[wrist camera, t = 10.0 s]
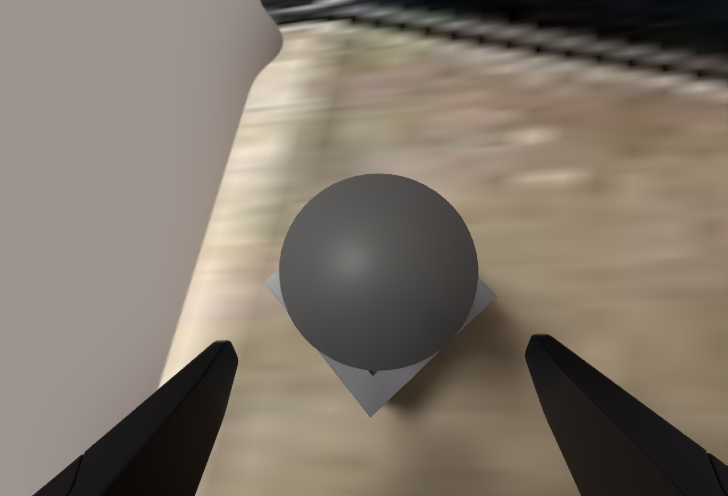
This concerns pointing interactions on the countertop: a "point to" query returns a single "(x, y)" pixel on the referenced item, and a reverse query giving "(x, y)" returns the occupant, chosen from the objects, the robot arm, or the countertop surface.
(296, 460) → the countertop surface
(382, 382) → the socket block
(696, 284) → the countertop surface
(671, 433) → the robot arm
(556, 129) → the countertop surface
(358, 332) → the peg
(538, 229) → the countertop surface
